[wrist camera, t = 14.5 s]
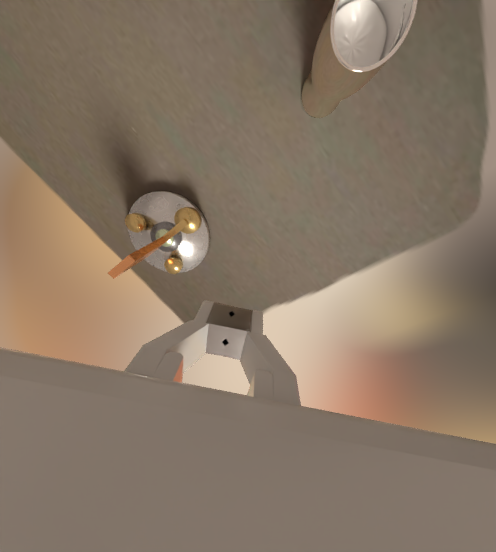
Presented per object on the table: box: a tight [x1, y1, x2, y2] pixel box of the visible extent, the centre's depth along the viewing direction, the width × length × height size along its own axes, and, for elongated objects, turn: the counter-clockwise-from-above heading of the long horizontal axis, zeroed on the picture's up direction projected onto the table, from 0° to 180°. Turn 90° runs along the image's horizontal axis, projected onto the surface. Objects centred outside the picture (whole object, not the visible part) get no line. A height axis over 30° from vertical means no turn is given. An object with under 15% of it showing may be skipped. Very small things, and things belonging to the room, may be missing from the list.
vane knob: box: [108, 207, 202, 278], centre depth 33 cm, size 14×5×12 cm, turn 125°
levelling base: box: [125, 191, 210, 274], centre depth 39 cm, size 17×17×3 cm
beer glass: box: [302, 0, 418, 118], centre depth 22 cm, size 7×7×15 cm
